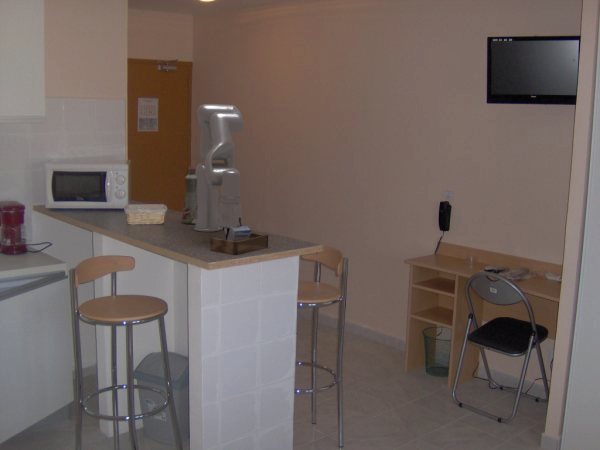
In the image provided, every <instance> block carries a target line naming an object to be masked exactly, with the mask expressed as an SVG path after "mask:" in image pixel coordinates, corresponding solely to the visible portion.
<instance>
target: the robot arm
mask: <svg viewBox="0 0 600 450" xmlns="http://www.w3.org/2000/svg"><path fill="white" fill-rule="evenodd" d="M242 115H243V114H242V113H241V111H240V110H239V109H238V107H237V106H235V105H233V104H219V103H203V104H201V105H199V106H198V108H197V115H196V116H197V121H198V123H199V124H198V125H199V127H200V139H199V140H200V142H199V143H200V145H199V154H200V156H201V159H203V160H204V162H200V163H199V164H197V166H196V167H195V175H196V177H197V187H196V188H197V203H198V210H197V219H194V220H193V221H192V223H194V224H193V225H195V226H193V231H197V232H204V233H205V232H208V233H209V232H211V233H212V232H219V231H221V230H223V232H224V235H225V240H227V238H228V233H229V229H230V227H237V226H238V227H239V226H243V212H242V211H243V210H242V204H241V171H239V170H238V169H237V168H235V158H236V157H235V155H236V148H235V144H234V142H233V138H232V133H241V132H242V131H243V129H244V124H245V123H244V118H243V116H242ZM215 161H217V162H215ZM218 161H223V162H218ZM216 187H221V196H219V192H218V189H217V188H216ZM219 197H220V198H219ZM219 199H220V200H221V202H220V203H219Z"/></svg>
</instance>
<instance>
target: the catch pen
mask: <svg viewBox="0 0 600 450" xmlns="http://www.w3.org/2000/svg"><path fill="white" fill-rule="evenodd" d="M209 246H210V251H212V250H214V251H213V252H217V251H218V252H219V253H225V254H228V253H229V255H233V256H234V255H235V256H236V255H237V256H238V255H240V254H245V253H249V252H253V251H256V250H262V249H265V248H269V235H268V234H262V233H256V232H251V233H250V237H249V239H245V240H241V241H236V242H235V241H229V240H226V239H222V238H216V237H211V238H210V245H209Z"/></svg>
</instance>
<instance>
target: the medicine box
mask: <svg viewBox="0 0 600 450" xmlns="http://www.w3.org/2000/svg"><path fill="white" fill-rule="evenodd" d="M250 233H252V230H251V228H250V227H249V226H247V225H242V226H239V227H238V226H237V227H230V229H229V233H228V238H227V240H229V241H235V242H236V241H241V240H245V239H249V237H250Z"/></svg>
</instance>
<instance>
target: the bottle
mask: <svg viewBox="0 0 600 450" xmlns="http://www.w3.org/2000/svg"><path fill="white" fill-rule="evenodd" d="M187 170H188V174H187V175H185V178H184V181H185V188H186V190H185V197H184V202H183V207H182V211H181V213H182V214H181V221H180V222H182V224H185V225H195V224H194V223H192V221H193V220H194V219H197V210H198V196H197V188H198V187H197V177H196V167H194V166H191V167H188V168H187Z"/></svg>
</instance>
